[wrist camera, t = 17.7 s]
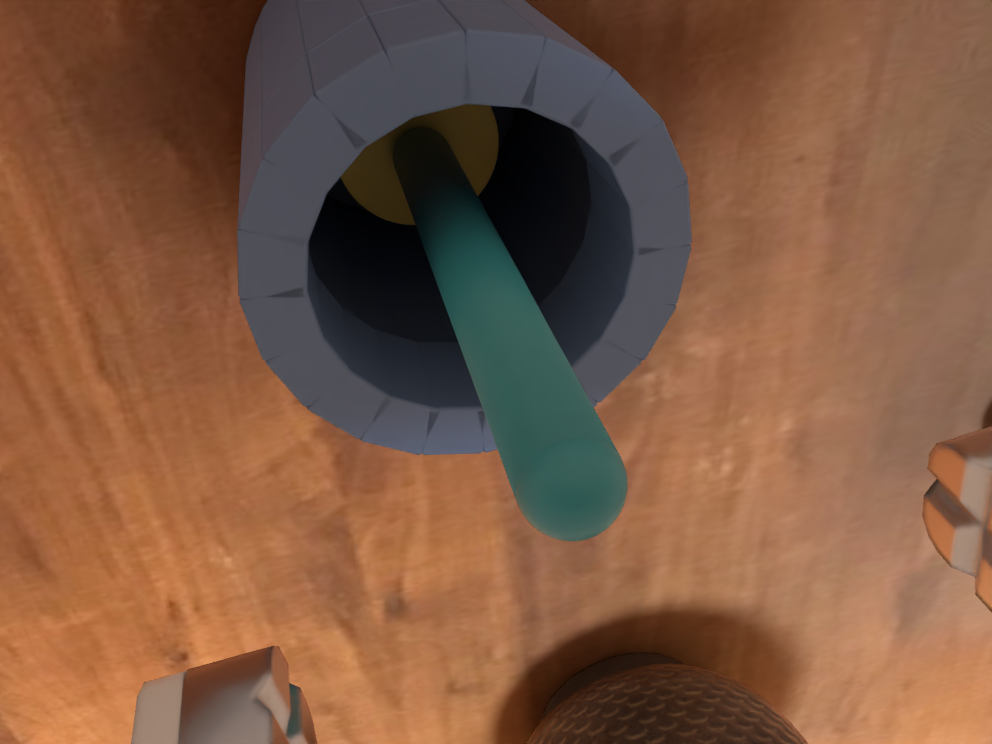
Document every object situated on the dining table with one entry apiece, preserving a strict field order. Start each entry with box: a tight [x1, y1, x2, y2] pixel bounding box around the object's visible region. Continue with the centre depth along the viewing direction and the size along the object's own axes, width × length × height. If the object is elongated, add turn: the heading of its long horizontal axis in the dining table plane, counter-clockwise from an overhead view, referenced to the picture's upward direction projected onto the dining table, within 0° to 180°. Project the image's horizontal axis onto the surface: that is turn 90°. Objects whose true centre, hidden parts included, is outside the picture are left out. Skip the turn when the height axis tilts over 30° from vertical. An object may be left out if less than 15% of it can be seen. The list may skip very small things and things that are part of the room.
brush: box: [341, 104, 627, 541], centre depth 21 cm, size 5×5×21 cm
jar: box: [237, 0, 692, 455], centre depth 24 cm, size 9×9×14 cm
